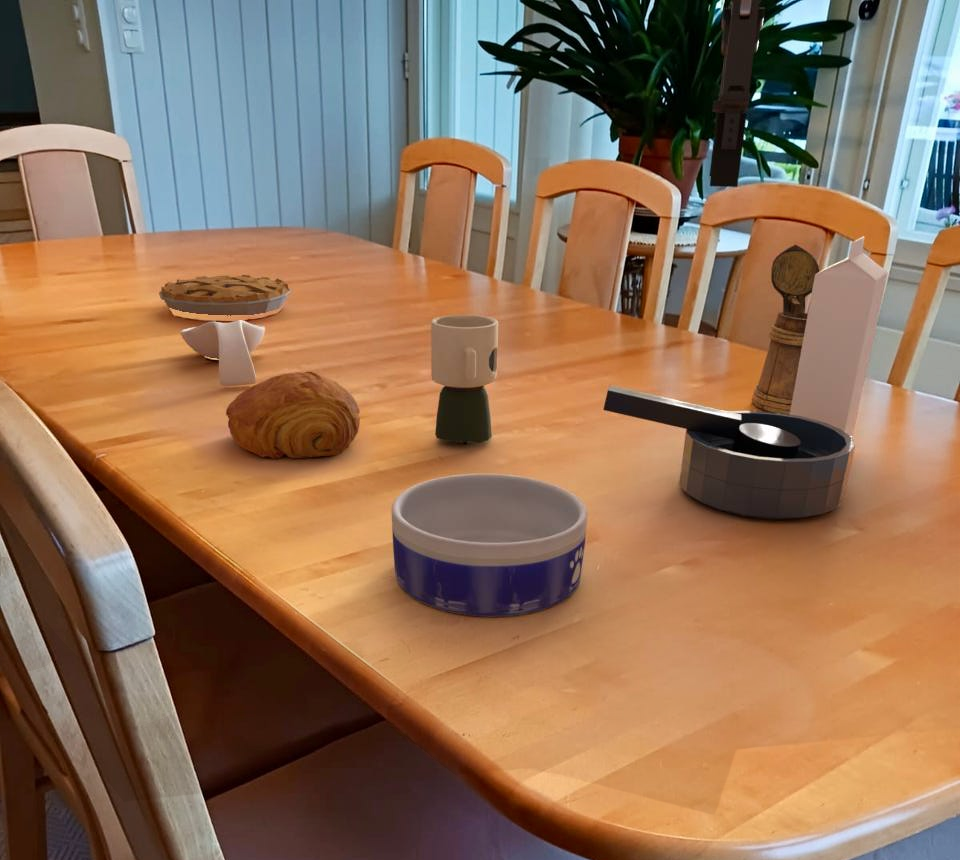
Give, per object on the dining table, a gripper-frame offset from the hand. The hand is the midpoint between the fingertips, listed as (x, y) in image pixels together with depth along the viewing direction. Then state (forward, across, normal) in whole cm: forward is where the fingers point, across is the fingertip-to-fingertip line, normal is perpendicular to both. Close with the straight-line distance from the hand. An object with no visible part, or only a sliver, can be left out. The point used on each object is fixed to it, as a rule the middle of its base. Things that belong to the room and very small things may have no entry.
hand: (722, 181), depth 103 cm
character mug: (+26, +14, -25) cm, 39 cm away
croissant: (+26, +18, -43) cm, 54 cm away
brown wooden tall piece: (+26, -12, +11) cm, 31 cm away
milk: (+26, +8, +14) cm, 31 cm away
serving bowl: (+26, +23, +7) cm, 35 cm away
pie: (+26, -45, -80) cm, 95 cm away
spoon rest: (+26, -10, -64) cm, 69 cm away
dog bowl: (+26, +47, -16) cm, 56 cm away
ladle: (+24, +22, 0) cm, 33 cm away
